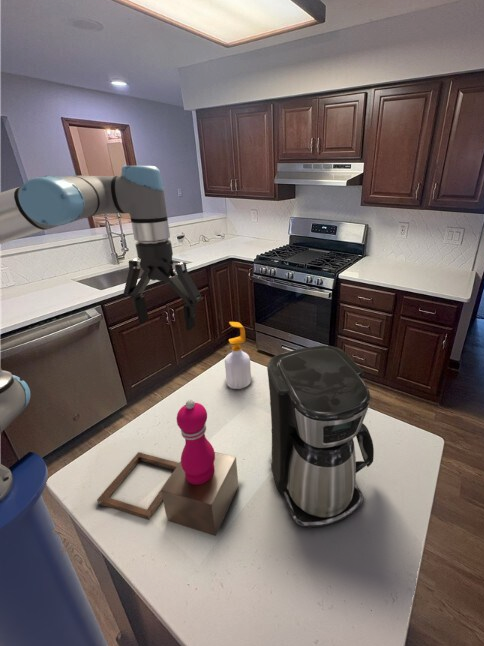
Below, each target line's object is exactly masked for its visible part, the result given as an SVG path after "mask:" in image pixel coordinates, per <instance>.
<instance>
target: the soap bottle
mask: <svg viewBox="0 0 484 646" xmlns="http://www.w3.org/2000/svg"><path fill="white" fill-rule="evenodd" d="M228 324H229V325H230V327H232V328H236V329H239V333H240V334H239V336H235V337H232V338H229V339H228V342H229V343H230V345H231V346H232V347H231V352H229V353H228V354H227V355H226V356H225V359H224V368H225V382H226V385H227V386H228V387H229V388H231V389H233V390H234V389H235V390H241V389H244V388H246V387H248V386H249V385H251V383H252V371H251V357H250V356H249V354H248V353H247V352H245V351H243V350H242V346H241V345H240V344H242V343H243V344H244V343H245V342H246V338H247V337H246V328H245V327H244V326H243V325H242V323H240V322H238V321H228Z"/></svg>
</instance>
